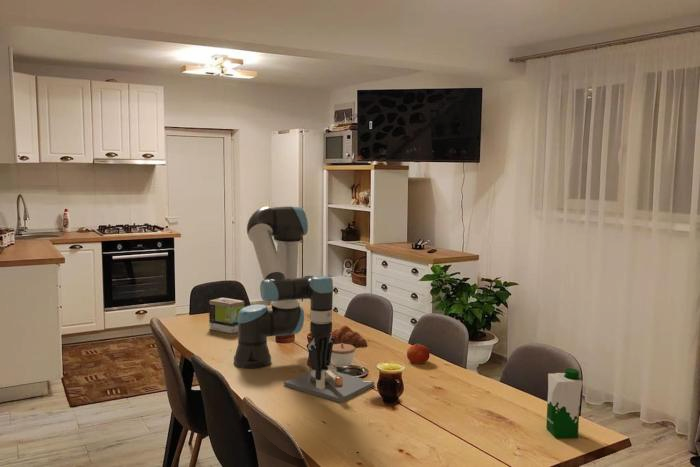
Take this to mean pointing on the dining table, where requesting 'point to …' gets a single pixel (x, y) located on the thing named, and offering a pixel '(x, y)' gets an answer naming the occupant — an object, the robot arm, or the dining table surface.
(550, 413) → the milk carton
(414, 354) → the tomato
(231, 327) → the tea box
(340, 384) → the grey saucepan
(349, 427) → the dining table surface
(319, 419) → the dining table surface
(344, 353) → the lidded jar
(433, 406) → the dining table surface
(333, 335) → the pastry
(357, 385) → the base plate
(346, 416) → the dining table surface
